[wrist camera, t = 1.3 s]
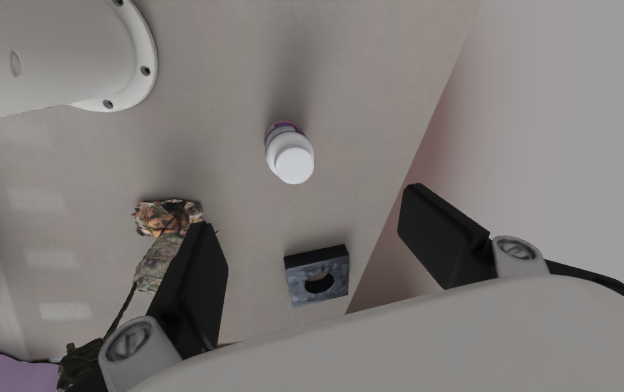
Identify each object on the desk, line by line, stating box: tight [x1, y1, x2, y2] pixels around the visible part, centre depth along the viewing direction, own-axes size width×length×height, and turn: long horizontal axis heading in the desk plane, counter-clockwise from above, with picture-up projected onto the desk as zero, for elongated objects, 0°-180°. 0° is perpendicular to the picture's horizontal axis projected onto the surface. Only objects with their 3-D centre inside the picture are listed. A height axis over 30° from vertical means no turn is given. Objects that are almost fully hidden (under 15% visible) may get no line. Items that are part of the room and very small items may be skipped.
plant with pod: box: [56, 199, 220, 392], centre depth 24 cm, size 8×11×20 cm
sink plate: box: [284, 244, 349, 308], centre depth 44 cm, size 12×12×3 cm
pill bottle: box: [264, 121, 314, 184], centre depth 26 cm, size 5×5×10 cm
